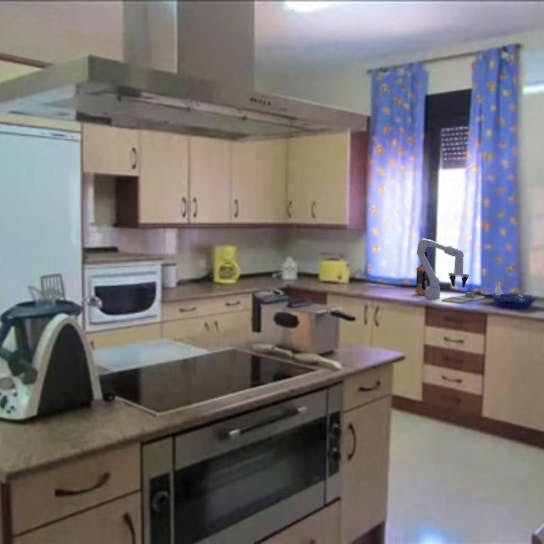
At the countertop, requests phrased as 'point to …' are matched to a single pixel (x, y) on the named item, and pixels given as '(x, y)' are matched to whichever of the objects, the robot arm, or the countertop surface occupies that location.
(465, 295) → the tray
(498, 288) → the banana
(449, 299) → the tray
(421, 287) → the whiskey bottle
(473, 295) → the stone
